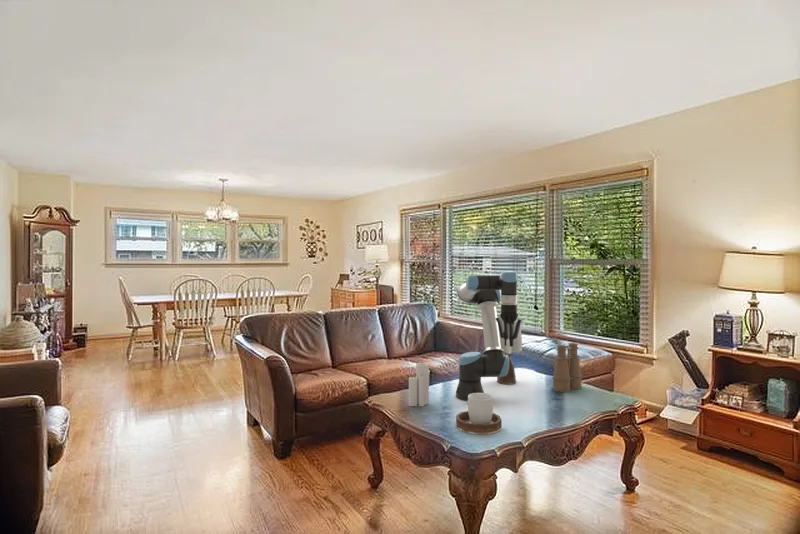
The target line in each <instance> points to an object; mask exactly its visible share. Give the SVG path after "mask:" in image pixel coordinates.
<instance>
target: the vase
mask: <svg viewBox="0 0 800 534" xmlns="http://www.w3.org/2000/svg"><path fill="white" fill-rule="evenodd" d="M418 404H419V405H418ZM426 404H428V405H429V404H430V364H429V363H426V362H425V363H424V362H420V363H416V364H415V376H410V377H408V406H409V407H411V406H415V407H419V406H423V407H424V406H427V405H426ZM417 405H418V406H417Z"/></svg>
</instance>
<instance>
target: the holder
mask: <svg viewBox="0 0 800 534" xmlns="http://www.w3.org/2000/svg"><path fill="white" fill-rule="evenodd" d="M455 420H456V421H455V427H456V429H458V430H460V431H461V432H463V431H464V432H463V433H466V434H471V435H492V434H495V433H498V432H500V431H501V430H502V429H503V428H502V424H503V423H502V418H501V416H500V415H499V414H496V413H494V412H493V414H492V419H491V422H490V424H472V423H471V421H470V418H469V414H468V410H466V411H461V412H459V413H457V414H456V415H455Z"/></svg>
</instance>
